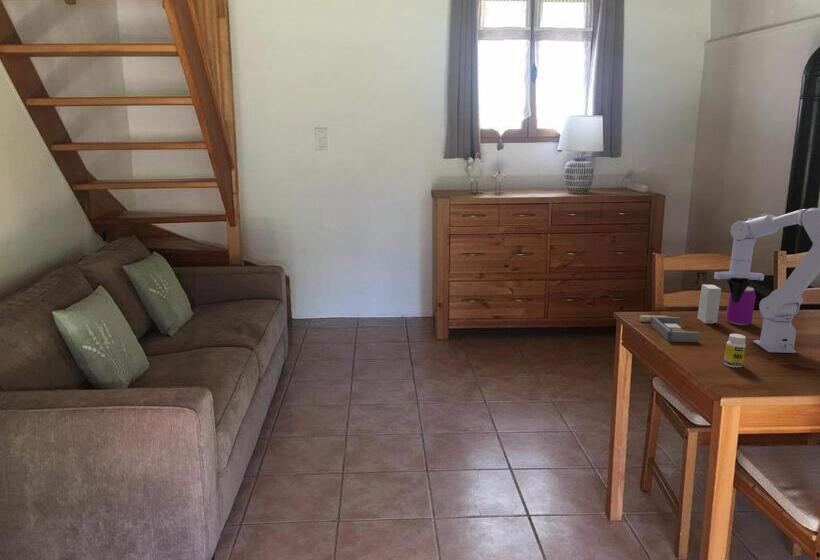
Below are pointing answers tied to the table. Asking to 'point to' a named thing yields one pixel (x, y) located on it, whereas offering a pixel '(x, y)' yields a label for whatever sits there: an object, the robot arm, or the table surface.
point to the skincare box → (709, 303)
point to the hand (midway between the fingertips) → (735, 301)
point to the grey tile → (672, 326)
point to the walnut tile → (677, 330)
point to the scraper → (648, 317)
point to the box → (673, 335)
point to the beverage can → (741, 308)
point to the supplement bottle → (735, 350)
